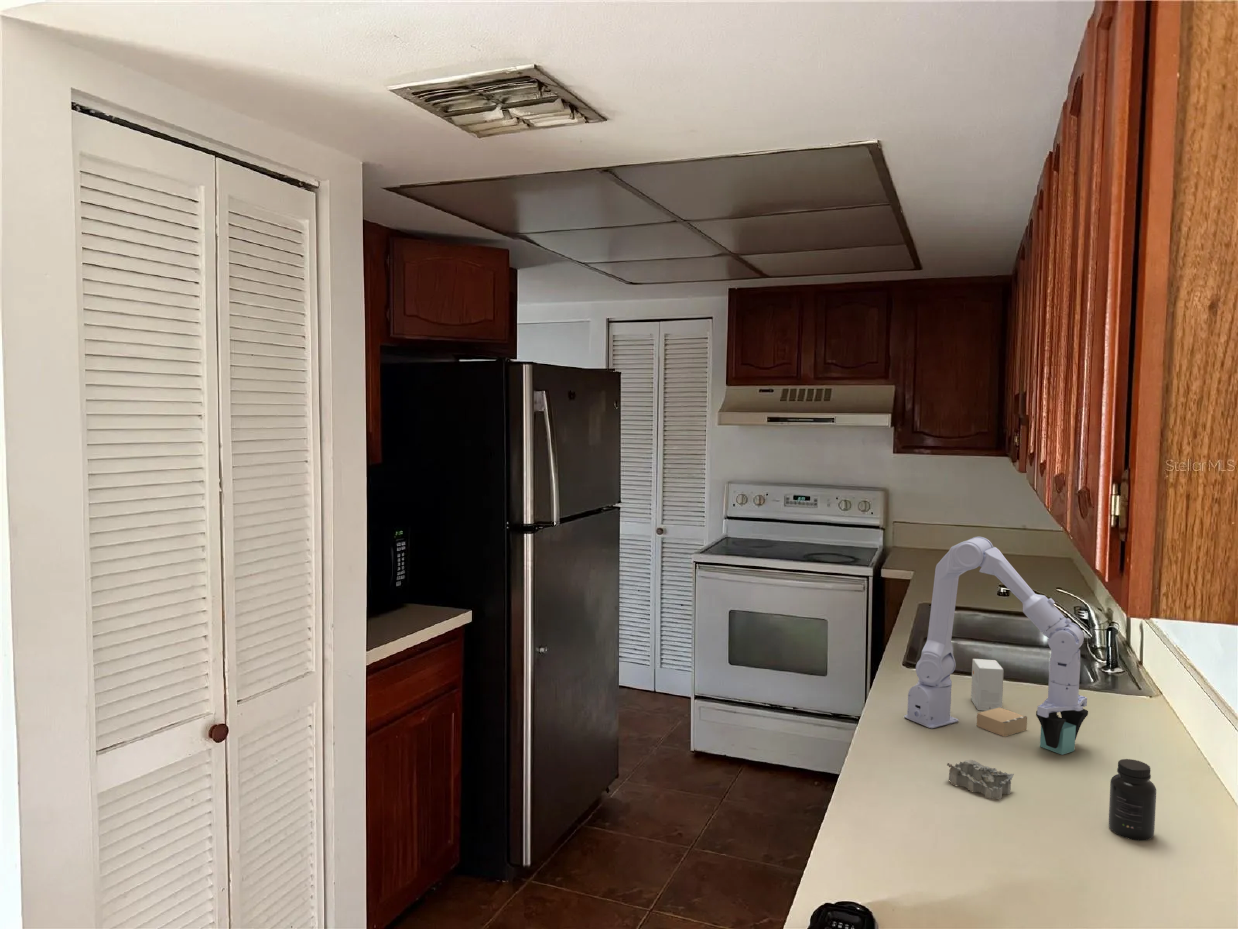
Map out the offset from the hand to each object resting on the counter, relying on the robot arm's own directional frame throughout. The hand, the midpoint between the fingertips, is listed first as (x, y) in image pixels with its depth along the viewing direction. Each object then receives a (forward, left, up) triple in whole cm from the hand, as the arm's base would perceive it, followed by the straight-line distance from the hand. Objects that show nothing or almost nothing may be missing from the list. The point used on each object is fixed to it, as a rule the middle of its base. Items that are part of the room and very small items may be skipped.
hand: (1060, 743), depth 182 cm
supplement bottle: (-22, -27, -2) cm, 35 cm away
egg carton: (-30, -3, -2) cm, 30 cm away
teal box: (0, +1, -1) cm, 2 cm away
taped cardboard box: (0, +14, -1) cm, 14 cm away
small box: (+10, +25, -2) cm, 27 cm away
